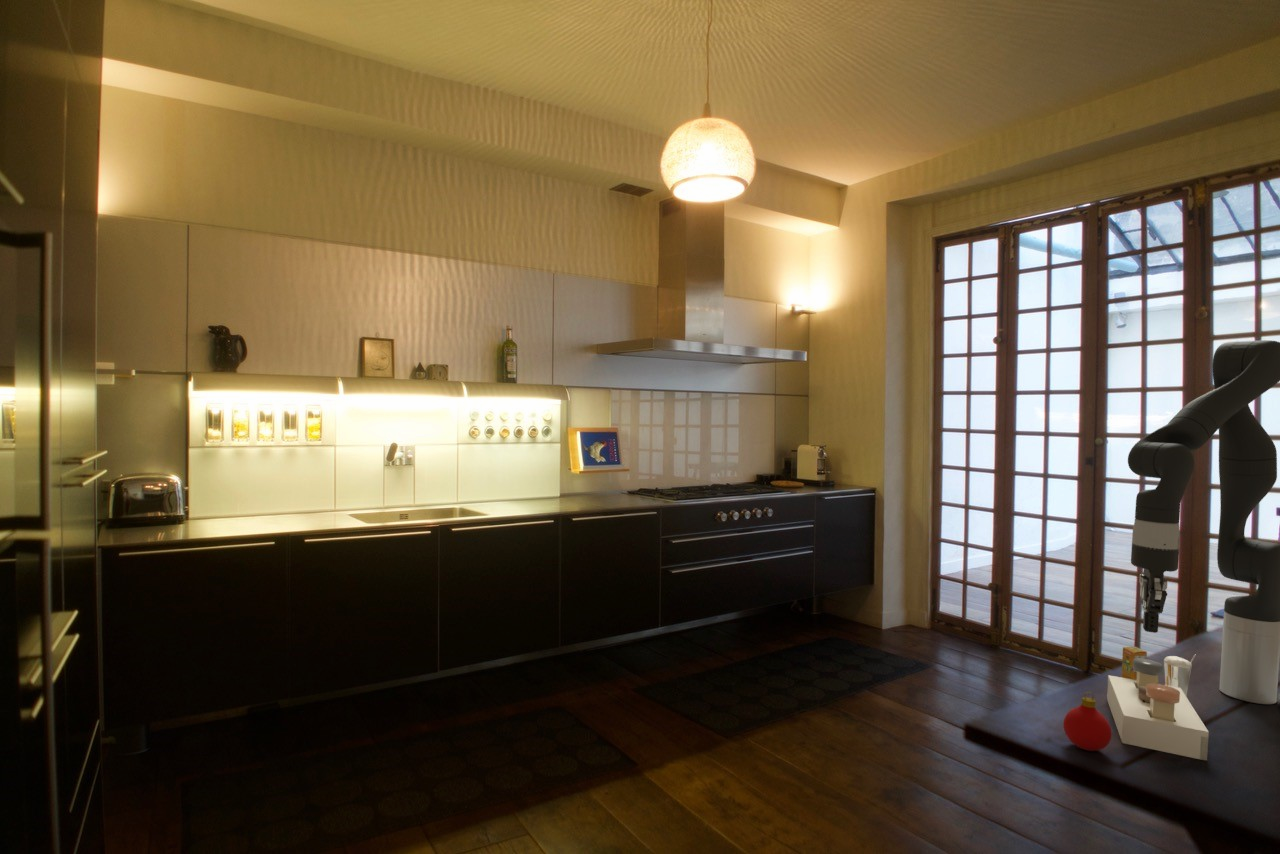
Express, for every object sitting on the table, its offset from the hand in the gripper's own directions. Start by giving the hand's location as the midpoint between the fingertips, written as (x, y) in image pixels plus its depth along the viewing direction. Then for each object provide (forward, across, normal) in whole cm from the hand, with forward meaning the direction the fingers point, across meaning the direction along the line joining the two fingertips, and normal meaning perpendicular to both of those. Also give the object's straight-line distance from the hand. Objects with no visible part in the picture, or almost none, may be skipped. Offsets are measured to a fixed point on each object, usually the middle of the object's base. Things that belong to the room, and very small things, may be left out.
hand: (1150, 631), depth 138 cm
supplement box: (+16, +9, +1) cm, 19 cm away
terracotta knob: (+13, -15, 0) cm, 20 cm away
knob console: (+16, -8, 0) cm, 18 cm away
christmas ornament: (+17, -24, +12) cm, 32 cm away
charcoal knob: (+13, 0, 0) cm, 13 cm away
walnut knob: (+16, -7, 0) cm, 17 cm away
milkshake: (+16, +10, -7) cm, 21 cm away
